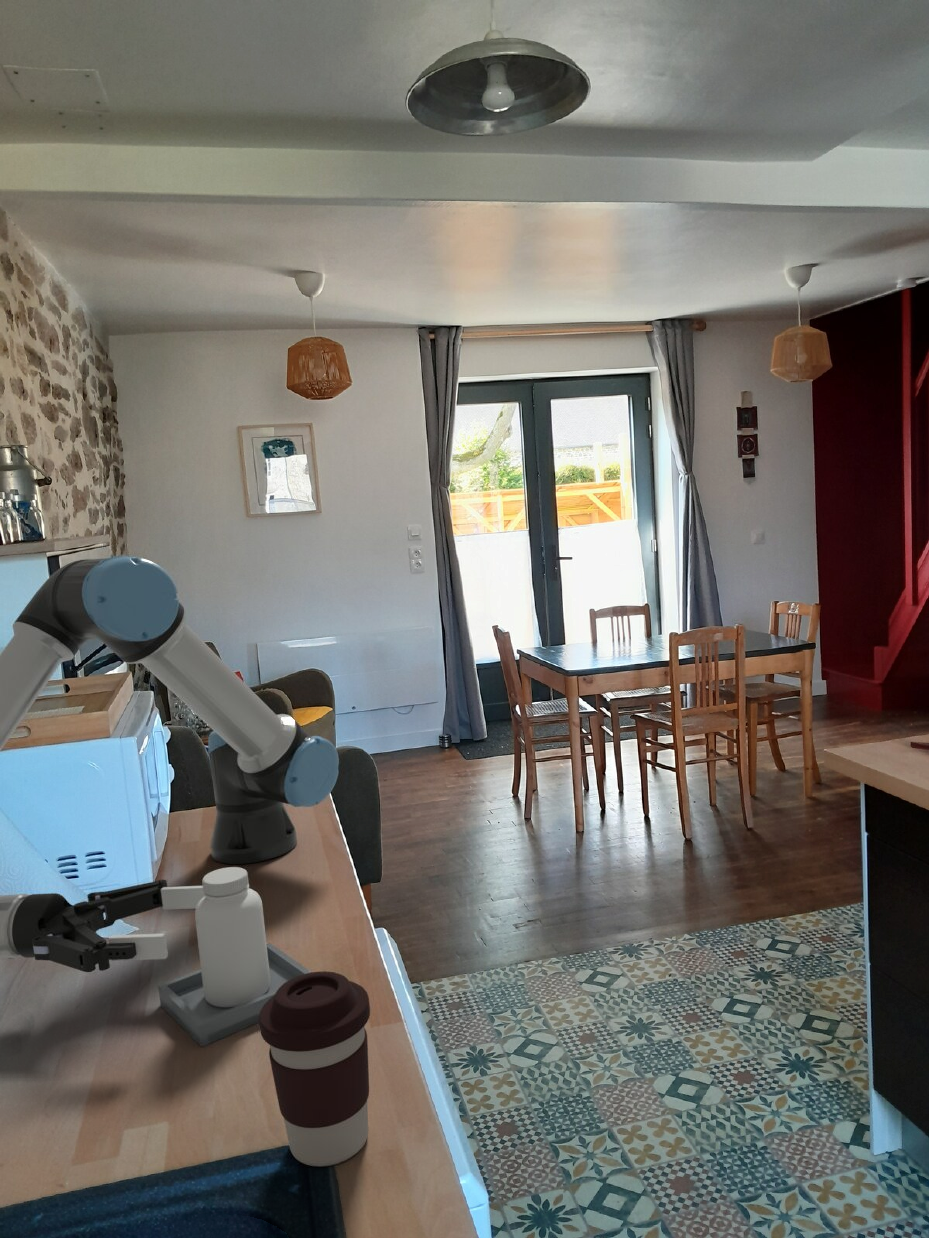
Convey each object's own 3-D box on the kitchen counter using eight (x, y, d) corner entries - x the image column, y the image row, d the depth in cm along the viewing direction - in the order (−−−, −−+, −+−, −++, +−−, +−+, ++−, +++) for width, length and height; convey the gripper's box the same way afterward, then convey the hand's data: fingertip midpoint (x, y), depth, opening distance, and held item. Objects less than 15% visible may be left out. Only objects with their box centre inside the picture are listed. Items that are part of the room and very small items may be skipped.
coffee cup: (389, 1165, 82) (372, 1005, 80) (275, 1190, 80) (255, 1027, 78) (377, 1098, 91) (361, 954, 90) (275, 1119, 90) (257, 973, 88)
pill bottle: (255, 1010, 108) (240, 887, 107) (192, 1008, 110) (177, 888, 108) (281, 976, 116) (268, 861, 114) (223, 975, 118) (208, 862, 116)
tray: (271, 960, 123) (269, 942, 123) (319, 995, 113) (317, 975, 112) (160, 1004, 114) (158, 985, 113) (201, 1046, 103) (198, 1025, 103)
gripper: (83, 911, 128) (230, 905, 125) (-34, 1007, 103) (146, 1003, 101) (76, 858, 127) (224, 852, 124) (-44, 943, 102) (138, 937, 100)
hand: (190, 919), depth 112 cm, fingers open, 13 cm apart
